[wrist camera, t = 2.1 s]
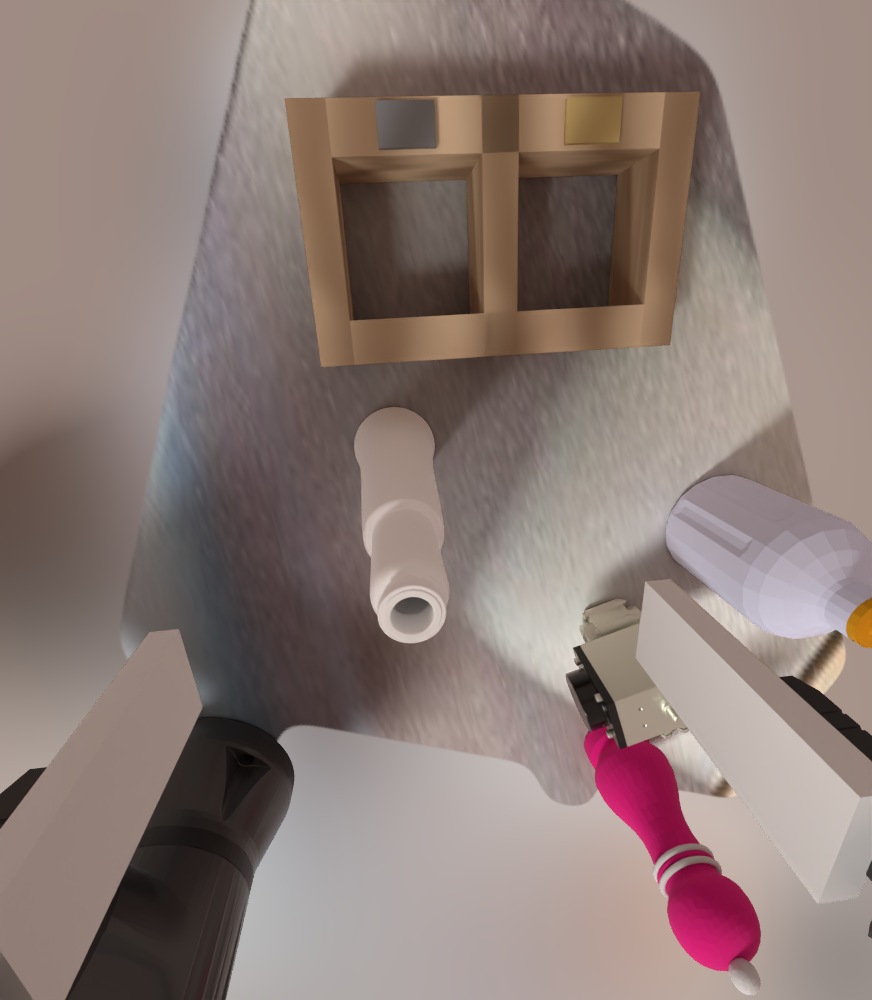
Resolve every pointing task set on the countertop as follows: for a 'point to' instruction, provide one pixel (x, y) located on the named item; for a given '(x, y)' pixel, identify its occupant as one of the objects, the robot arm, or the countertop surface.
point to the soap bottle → (775, 558)
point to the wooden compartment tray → (498, 212)
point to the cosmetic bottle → (402, 524)
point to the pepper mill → (678, 859)
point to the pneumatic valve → (618, 679)
